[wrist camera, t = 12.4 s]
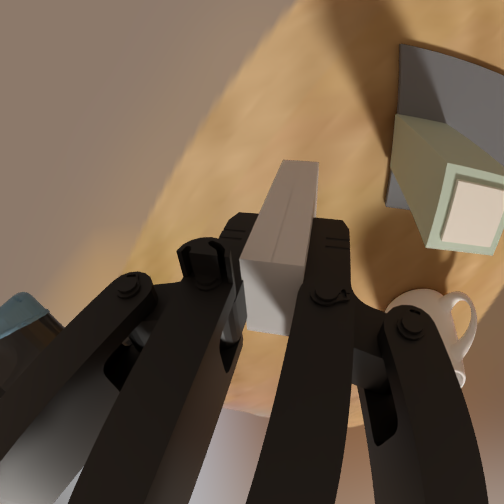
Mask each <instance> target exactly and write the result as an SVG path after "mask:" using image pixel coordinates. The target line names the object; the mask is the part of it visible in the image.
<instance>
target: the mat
mask: <svg viewBox="0 0 504 504" xmlns="http://www.w3.org/2000/svg"><path fill="white" fill-rule="evenodd" d="M397 114H400V115H406V116H411V117H417V118H422V119H427V120H432V121H437V122H441V123H446V124H448V125H449V126H451V127H452V128H454V129H455V130H457V131H458V132H459V133H461V134H462V135H464V136H465V137H467V138H468V139H469V140H471V141H472V142H473V143H475V144H476V145H477V146H479V147H480V148H481V149H483V150H484V151H485V152H486V153H488V154H489V155H490V156H491V157H493V158H494V159H495V160H496V161H497V162H499V163H500V164H501V165H502V166H503V167H504V76H503V75H501V74H499V73H496V72H494V71H491V70H489V69H486V68H484V67H481V66H478V65H476V64H473V63H470V62H467V61H464V60H461V59H458V58H455V57H452V56H449V55H445V54H442V53H438V52H434V51H431V50H427V49H423V48H418V47H414V46H410V45H405V44H399V88H398V105H397ZM385 206H386V207H392V208H399V209H407V210H410V208H409V206H408V204H407V201H406V199H405V197H404V195H403V193H402V190H401V188H400V186H399V184H398V182H397V180H396V178H395V176H394V174H393V172H392V170H391V169H390V176H389V182H388V188H387V194H386V200H385Z"/></svg>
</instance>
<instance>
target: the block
mask: <svg viewBox="0 0 504 504" xmlns="http://www.w3.org/2000/svg"><path fill="white" fill-rule="evenodd" d="M390 168H391V170H392V172H393V174H394V176H395V178H396V180H397V182H398V184H399V186H400V188H401V190H402V193H403V195H404V197H405V199H406V201H407V204H408V206H409V208H410V210H411V213H412V215H413V217H414V220H415V222H416V224H417V227H418V229H419V232H420V234H421V237H422V239H423V242H424V245H425V247H426V248H433V249H441V250H450V251H459V252H467V253H476V254H484V255H492V256H493V254H494V251H495V249H496V247H497V244H498V242H499V239H500V237H501V234H502V232H503V229H504V167H503V166H502V165H501V164H500V163H499V162H497V161H496V160H495V159H494V158H493V157H491V156H490V155H489V154H488V153H486V152H485V151H484V150H483V149H481V148H480V147H479V146H477V145H476V144H475V143H473V142H472V141H471V140H469V139H468V138H467V137H465V136H464V135H462V134H461V133H459V132H458V131H457V130H455V129H454V128H452V127H451V126H449V125H448V124H446V123H441V122H437V121H432V120H427V119H422V118H417V117H411V116H406V115H400V114H395V124H394V135H393V145H392V154H391V162H390Z"/></svg>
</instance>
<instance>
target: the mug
mask: <svg viewBox="0 0 504 504" xmlns="http://www.w3.org/2000/svg"><path fill="white" fill-rule="evenodd" d="M460 300H464V301H466V302H467V303H468V304H469V305H470V308H471V320H470V324H469V326H468V328H467V330H466V332H465V333H464V335H463V336H462V337H461V338H460V339H459V340H458V337H457V333H456V329H455V325H454V321H453V317H452V314H451V310H452V308H453V307H454V305H455V304H456V303H457V302H458V301H460ZM399 305H413V306H415V307H418V308H421V309H422V310H424V311H425V312H426V313H427V314H429V315H430V317H431V318H432V320H433V321H434V322H435V324H436V327H437V329H438V331H439V333H440V336H441V338H442V340H443V343H444V345H445V348H446V350H447V352H448V355H449V357H450V360H451V363H452V365H453V368H454V370H455V373H456V376H457V379H458V381H459V384H460V387H461V388H462V386H463V385H464V383H465V380H466V376H465V371H464V365H463V360H462V359H463V357H464V356H465V355H466V353H467V351H468V350H469V348H470V346H471V344H472V342H473V339H474V337H475V333H476V327H477V315H476V310H475V307H474V305H473V303H472V301H471V299H470V298H469V297H468V296H467V295H466V294H465V293H463V292H459V291H456V292H451V293H448V294H446V295H444V296H443V295H442V294H441V293H439V292H437V291H435V290H431V289H415V290H411V291H408V292H406V293H403V294H401V295H400V296H398V297H397V298H395V299H394V300H393V301H392V302H391V303H390V304H389V305H388V307H387V308H386V310H385V313H387V312H389V311H390V310H391V309H392V308H393V307H396V306H399Z"/></svg>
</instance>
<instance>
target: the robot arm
mask: <svg viewBox="0 0 504 504" xmlns="http://www.w3.org/2000/svg"><path fill="white" fill-rule="evenodd" d="M318 170H319V162H310V161H295V160H283V161H282V163H281V165H280V168H279V170H278V172H277V174H276V177H275V179H274V181H273V183H272V186H271V188H270V190H269V192H268V195H267V197H266V199H265V201H264V204H263V206H262V208H261V210H260V213H259V214H255V213H242V212H239V213H238V214H236V215H235V216H233V217H232V218H231V219H229V221H228V222H227V224H226V226H225V228H224V231H222V233H221V235H220V236H219V238H218V239H217V238H213V237H204V238H198V239H194V240H191V241H189V242H187V243H185V244H183V245H182V246H181V247H180V248H179V249H178V250H177V255H178V259H179V262H180V266H181V270H182V273H183V279H182V280H181V282H175V283H167V284H157V285H153V283H152V280H151V278H150V276H148V275H147V274H146V273H142V272H129V273H127V274H124V275H121V276H120V277H118V278H117V279H115V280H114V281H113V282H112V283H111V284H110V285H109V286H108V287H106V288H105V289H104V290H103V291H102V292H101V293H100V294H99V295H98V296H97V297H96V298H95V299H94V300H93V301H91V302H90V304H89V305H88V306H86V307H85V308H84V309H83V310H82V311H81V312H80V313H79V314H78V315H77V316H76V317H75V318H74V319H73V320H72V321H71V322H70V323H69V324H68V325H67V326H66V327H65V328H64V327H63V326H62V325H61V324H60V323H59V322H58V321H57V320H56V319H55V318H54V317H53V316H52V315H51V314H50V313H49V312H50V311H49V310H48V309H45V308H44V307H43V306H42V305H41V304H40V303H39V302H38V301H37V300H36V299H35V298H34V297H33V296H32V295H30V294H29V293H26V292H20V293H17V294H16V295H14V296H13V297H12V298H10V299H9V300H8V301H7V302H6V303H4V304H3V305H2V306H1V307H0V504H53V503H54V502H55V501H56V499H57V498H58V497H59V496H60V494H61V493H62V492H63V491H64V490H65V488H66V487H67V486H68V485H69V483H70V482H71V481H72V480H73V479H74V477H75V476H76V475H77V473H78V472H79V471H80V470H81V469H82V467H83V466H84V467H83V470H82V472H81V474H80V476H79V479H78V481H77V483H76V485H75V488H74V490H73V492H72V495H71V497H70V499H69V502H68V504H188V503H189V500H190V498H191V495H192V492H193V489H194V487H195V484H196V481H197V478H198V475H199V473H200V470H201V467H202V464H203V461H204V458H205V455H206V453H207V450H208V447H209V444H210V441H211V438H212V435H213V433H214V430H215V426H216V424H217V421H218V418H219V415H220V412H221V409H222V406H223V403H224V400H225V397H226V394H227V391H228V388H229V385H230V382H231V379H232V376H233V373H234V370H235V367H236V364H237V361H238V358H239V355H240V352H241V349H242V346H243V335H242V331H243V328H244V325H245V322H246V321H247V330H252V331H258V332H264V333H271V334H278V335H285V336H289V339H288V343H287V348H286V352H285V357H284V361H283V366H282V370H281V375H280V379H279V383H278V387H277V392H276V396H275V400H274V404H273V408H272V412H271V416H270V420H269V424H268V427H267V431H266V435H265V439H264V442H263V446H262V450H261V453H260V457H259V461H258V464H257V468H256V471H255V474H254V478H253V481H252V485H251V488H250V491H249V494H248V498H247V501H246V504H335V499H336V494H337V489H338V484H339V479H340V473H341V467H342V461H343V454H344V448H345V440H346V433H347V425H348V416H349V407H350V396H351V384H354V385H357V388H358V393H359V398H360V403H361V409H362V414H363V420H364V426H365V431H366V437H367V443H368V451H369V457H370V465H371V472H372V480H373V488H374V498H375V504H488V496H487V490H486V483H485V477H484V472H483V467H482V462H481V458H480V453H479V449H478V445H477V440H476V437H475V433H474V429H473V426H472V422H471V418H470V415H469V412H468V408H467V405H466V402H465V399H464V396H463V393H462V390H461V387H460V384H459V381H458V379H457V376H456V373H455V370H454V368H453V365H452V363H451V360H450V357H449V355H448V352H447V350H446V348H445V345H444V343H443V340H442V338H441V336H440V333H439V331H438V329H437V327H436V324H435V322H434V321H433V320H432V318H431V317H430V315H429V314H427V313H426V312H425V311H424V310H422V309H421V308H418V307H415V306H413V305H399V306H396V307H393V308H392V309H391V310H390V311H389V312H387V313H385V312H382V311H380V310H377V309H374V308H372V307H370V306H368V305H366V304H364V303H363V302H362V301H360V300H359V299H358V298H357V296H356V295H355V294H354V292H353V290H352V287H351V268H350V242H349V241H350V236H349V229H348V227H347V226H346V224H345V223H344V222H343V220H334V219H324V218H316V208H317V190H318Z"/></svg>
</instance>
